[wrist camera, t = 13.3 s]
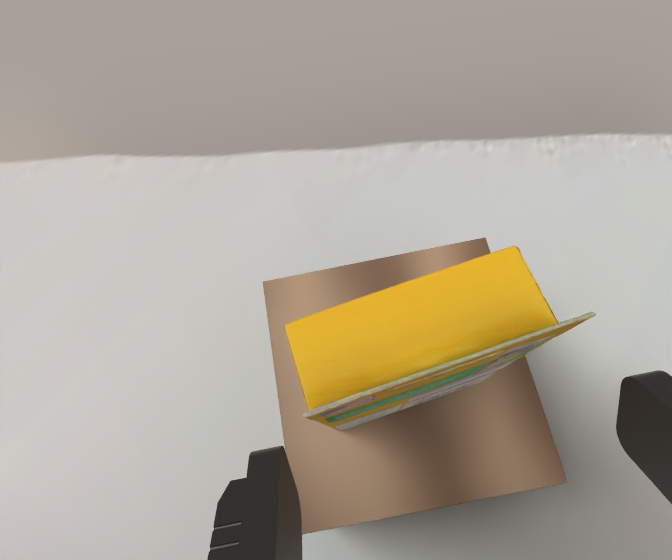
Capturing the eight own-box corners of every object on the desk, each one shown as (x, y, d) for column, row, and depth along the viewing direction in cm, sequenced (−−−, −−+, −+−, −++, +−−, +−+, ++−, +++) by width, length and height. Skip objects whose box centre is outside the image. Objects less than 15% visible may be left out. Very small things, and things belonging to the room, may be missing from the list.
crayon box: (458, 323, 22) (544, 209, 11) (483, 381, 21) (607, 318, 10) (318, 371, 22) (266, 302, 11) (337, 433, 21) (300, 425, 10)
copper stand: (313, 513, 25) (296, 535, 19) (283, 312, 29) (262, 281, 23) (522, 473, 25) (567, 482, 19) (463, 276, 29) (485, 237, 23)
